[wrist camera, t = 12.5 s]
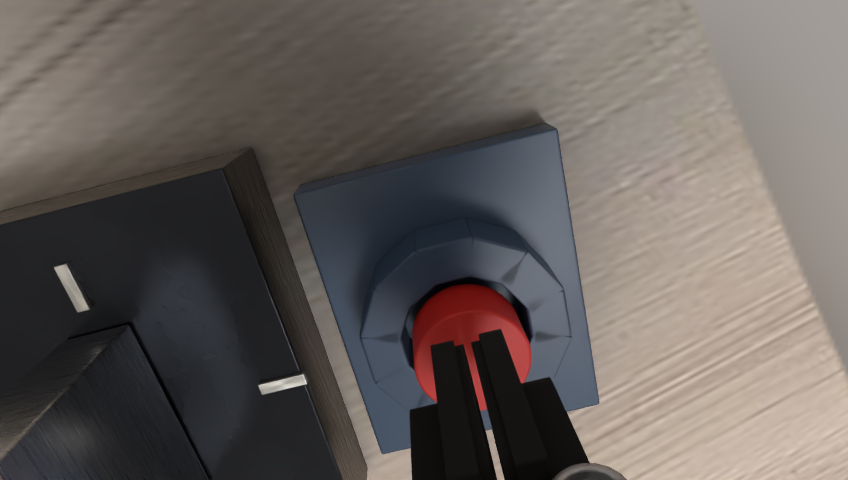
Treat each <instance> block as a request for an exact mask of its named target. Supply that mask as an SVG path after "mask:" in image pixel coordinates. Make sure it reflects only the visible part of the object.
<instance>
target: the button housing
mask: <svg viewBox="0 0 848 480" xmlns="http://www.w3.org/2000/svg"><path fill="white" fill-rule="evenodd" d="M294 199H295V202H296V205H297V208H298V211H299V214H300V217H301V220H302V223H303V225H304V228H305V231H306V234H307V237H308V240H309V243H310V246H311V249H312V252H313V255H314V258H315V260H316V263H317V266H318V269H319V272H320V275H321V278H322V281H323V284H324V287H325V290H326V293H327V295H328V298H329V301H330V304H331V307H332V310H333V313H334V316H335V319H336V322H337V325H338V328H339V330H340V333H341V336H342V339H343V342H344V345H345V348H346V351H347V354H348V357H349V360H350V363H351V366H352V368H353V371H354V374H355V377H356V380H357V383H358V386H359V389H360V392H361V395H362V398H363V401H364V403H365V406H366V409H367V412H368V415H369V418H370V421H371V424H372V427H373V430H374V433H375V436H376V438H377V441H378V444H379V447H380V450H381V453H382V454H386V453H390V452H395V451H399V450H403V449H408V448H411V440H410V418H409V413H410V409H415V408H419V407H423V406H427V405H432V404H436V403H437V402H435V401H434V400H433V399H431V398H430V397H429V396H428V395H427V394H426V393H425V392H424V390H423V389H422V388H421V386H420V384H419V383H418V380H417V378H416V375H415V370H414V354H413V336H412V331H413V324H414V320H415V318H416V315H417V313H418V312H419V310H420V308H421V307H422V306H423V304H424V303H425V302H426V301H427V300H428V299H429V298H431V297H432V296H433V295H434V294H436V293H438V292H439V291H441V290H443V289H445V288H448V287H451V286H454V285H460V284H477V285H482V286H486V287H489V288H491V289H493V290H495V291H497V292H499V293H500V294H502V295H503V296H504V297H505V298H506V299H507V300H508V301H509V302H510V303H511V305H512V306H513V308H514V310H515V312H516V314H517V316H518V318H519V321H520V323H521V325H522V327H523V330H524V332H525V334H526V336H527V339H528V341H529V344H530V347H531V354H532V358H531V367H530V370H529V373H528V376H527V378H526V380H525V382H530V381H534V380H538V379H542V378H547V377H550V378H551V380H552V382H553V384H554V386H555V388H556V390H557V392H558V395H559V397H560V399H561V401H562V403H563V406H564V408H565V410H566V412H567V411H572V410H576V409H580V408H584V407H589V406H593V405H597V404H599V396H598V390H597V383H596V377H595V370H594V364H593V357H592V351H591V344H590V338H589V331H588V325H587V318H586V312H585V306H584V299H583V293H582V286H581V280H580V273H579V267H578V260H577V254H576V247H575V241H574V234H573V228H572V221H571V215H570V208H569V202H568V196H567V189H566V183H565V176H564V170H563V163H562V157H561V150H560V144H559V137H558V131H557V129H556V128H555V127H553V126H551V125H549V124H547V123H543V124H539V125H535V126H531V127H527V128H524V129H520V130H516V131H512V132H508V133H504V134H500V135H496V136H492V137H488V138H484V139H480V140H476V141H472V142H468V143H464V144H460V145H456V146H452V147H448V148H444V149H440V150H436V151H432V152H428V153H425V154H421V155H417V156H413V157H409V158H405V159H401V160H397V161H393V162H389V163H385V164H381V165H377V166H373V167H369V168H365V169H361V170H357V171H353V172H349V173H345V174H341V175H337V176H333V177H330V178H326V179H322V180H318V181H314V182H310V183H306V184H302V185H300V186H299V187H298V189H297V190H296V192H295V193H294ZM525 382H524V383H525ZM481 415H482V419H483V423H484V427H485V430H490V429H492V426H491V422H490V418H489V414H488V410H482V411H481Z"/></svg>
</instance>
